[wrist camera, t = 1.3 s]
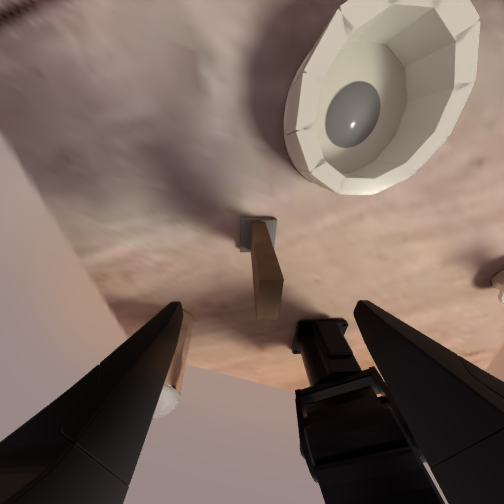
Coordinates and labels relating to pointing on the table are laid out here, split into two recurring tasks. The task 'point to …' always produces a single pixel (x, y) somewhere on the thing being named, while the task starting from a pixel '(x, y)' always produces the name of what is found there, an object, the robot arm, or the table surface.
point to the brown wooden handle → (263, 264)
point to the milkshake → (175, 370)
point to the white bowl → (380, 91)
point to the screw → (499, 284)
